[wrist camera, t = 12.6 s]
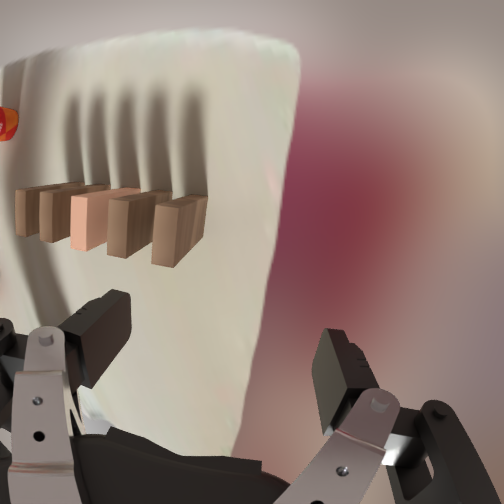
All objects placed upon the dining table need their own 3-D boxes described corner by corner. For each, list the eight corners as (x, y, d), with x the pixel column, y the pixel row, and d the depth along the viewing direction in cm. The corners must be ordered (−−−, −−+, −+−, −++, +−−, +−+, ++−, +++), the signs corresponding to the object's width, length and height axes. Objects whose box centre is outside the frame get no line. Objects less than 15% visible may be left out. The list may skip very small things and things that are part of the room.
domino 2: (96, 220, 35) (39, 240, 23) (98, 184, 33) (40, 191, 22) (108, 222, 35) (52, 243, 23) (110, 185, 33) (52, 193, 22)
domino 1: (72, 216, 35) (15, 234, 23) (74, 182, 33) (15, 189, 22) (82, 218, 35) (25, 237, 23) (84, 182, 33) (25, 190, 22)
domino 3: (124, 225, 35) (70, 248, 23) (127, 187, 33) (71, 196, 22) (137, 227, 35) (86, 251, 23) (140, 188, 33) (87, 197, 22)
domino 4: (153, 229, 35) (107, 254, 23) (157, 190, 33) (109, 199, 22) (168, 231, 35) (125, 258, 23) (172, 191, 33) (128, 201, 22)
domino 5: (187, 234, 35) (151, 263, 23) (192, 194, 33) (155, 205, 22) (202, 237, 35) (173, 267, 23) (208, 196, 33) (178, 208, 22)
